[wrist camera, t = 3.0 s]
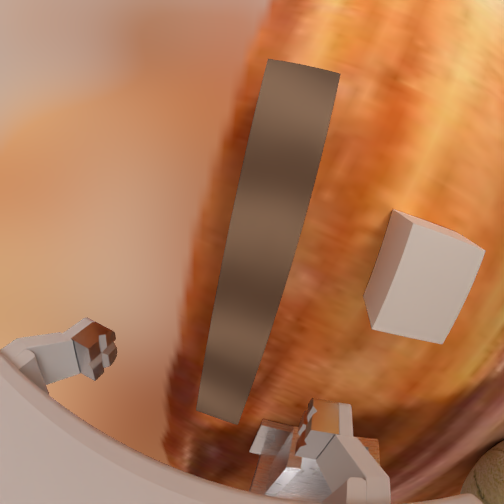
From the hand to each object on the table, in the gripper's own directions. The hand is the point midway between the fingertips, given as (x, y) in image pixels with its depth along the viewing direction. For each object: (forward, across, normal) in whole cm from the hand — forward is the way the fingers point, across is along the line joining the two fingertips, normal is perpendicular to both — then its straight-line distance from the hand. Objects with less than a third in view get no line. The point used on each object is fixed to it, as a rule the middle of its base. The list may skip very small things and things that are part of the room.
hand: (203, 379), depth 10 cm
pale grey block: (+10, -10, -4) cm, 14 cm away
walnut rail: (+10, 0, -1) cm, 10 cm away
